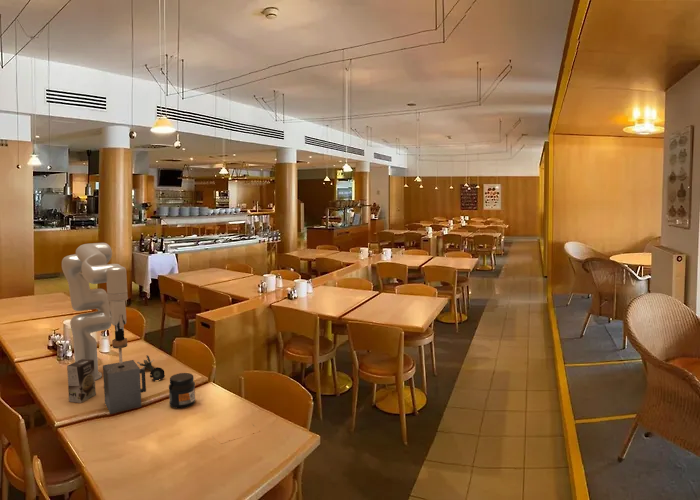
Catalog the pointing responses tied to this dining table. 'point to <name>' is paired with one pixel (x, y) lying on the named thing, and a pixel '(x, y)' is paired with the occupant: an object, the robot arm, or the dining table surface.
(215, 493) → the dining table surface
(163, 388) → the dining table surface
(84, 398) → the coffee box
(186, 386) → the supplement container
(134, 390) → the press pot
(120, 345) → the plunger
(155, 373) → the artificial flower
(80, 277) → the robot arm
